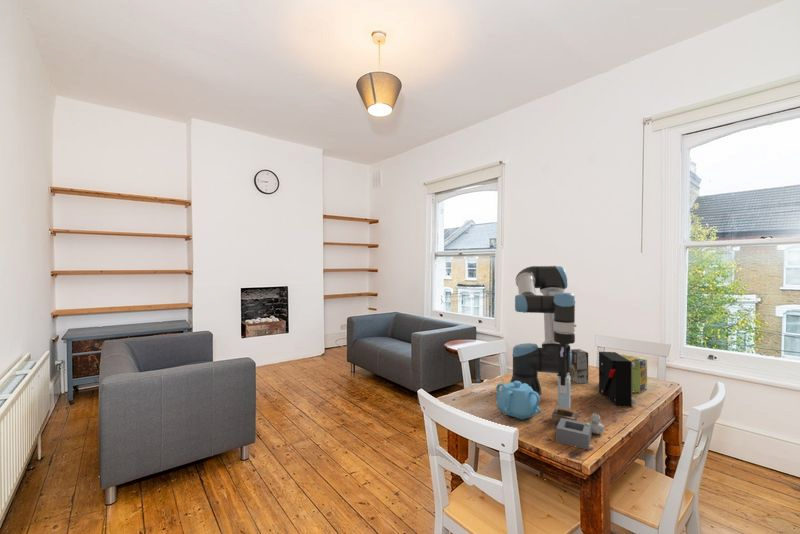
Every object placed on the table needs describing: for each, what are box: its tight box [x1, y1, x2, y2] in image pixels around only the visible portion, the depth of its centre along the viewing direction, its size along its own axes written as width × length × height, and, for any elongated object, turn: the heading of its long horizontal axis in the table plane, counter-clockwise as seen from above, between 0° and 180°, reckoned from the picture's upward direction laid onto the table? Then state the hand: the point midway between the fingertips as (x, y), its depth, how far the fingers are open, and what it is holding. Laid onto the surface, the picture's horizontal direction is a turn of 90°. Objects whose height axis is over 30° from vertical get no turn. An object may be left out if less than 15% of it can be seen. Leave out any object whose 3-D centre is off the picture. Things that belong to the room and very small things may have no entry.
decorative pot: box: [495, 381, 542, 421], centre depth 148 cm, size 16×16×14 cm
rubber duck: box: [587, 411, 605, 435], centre depth 132 cm, size 5×7×8 cm
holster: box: [551, 407, 578, 427], centre depth 139 cm, size 8×8×4 cm
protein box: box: [618, 353, 648, 394], centre depth 181 cm, size 10×15×16 cm
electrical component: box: [598, 351, 636, 408], centre depth 165 cm, size 18×10×20 cm, turn 168°
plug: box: [557, 375, 572, 410], centre depth 140 cm, size 4×4×12 cm
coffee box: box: [569, 348, 589, 384], centre depth 192 cm, size 9×6×16 cm
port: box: [555, 418, 592, 450], centre depth 126 cm, size 10×10×5 cm
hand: (564, 390), depth 140 cm, fingers closed on plug, 4 cm apart
